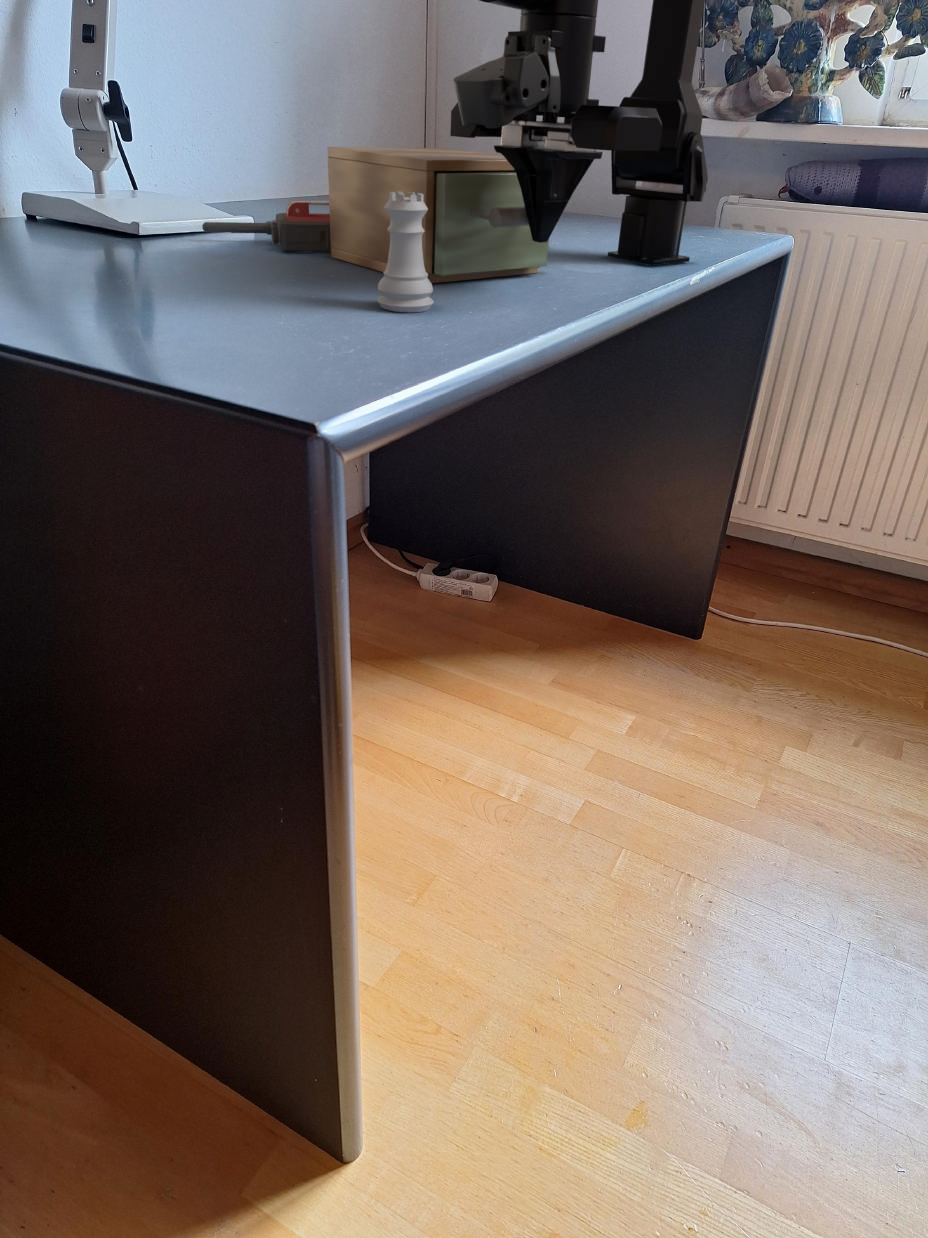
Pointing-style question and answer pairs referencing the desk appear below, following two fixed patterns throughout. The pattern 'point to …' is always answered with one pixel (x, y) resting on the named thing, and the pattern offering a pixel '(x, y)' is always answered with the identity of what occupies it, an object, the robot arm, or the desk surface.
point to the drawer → (481, 224)
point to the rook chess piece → (405, 257)
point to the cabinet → (365, 191)
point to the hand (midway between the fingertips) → (539, 241)
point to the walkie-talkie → (288, 228)
